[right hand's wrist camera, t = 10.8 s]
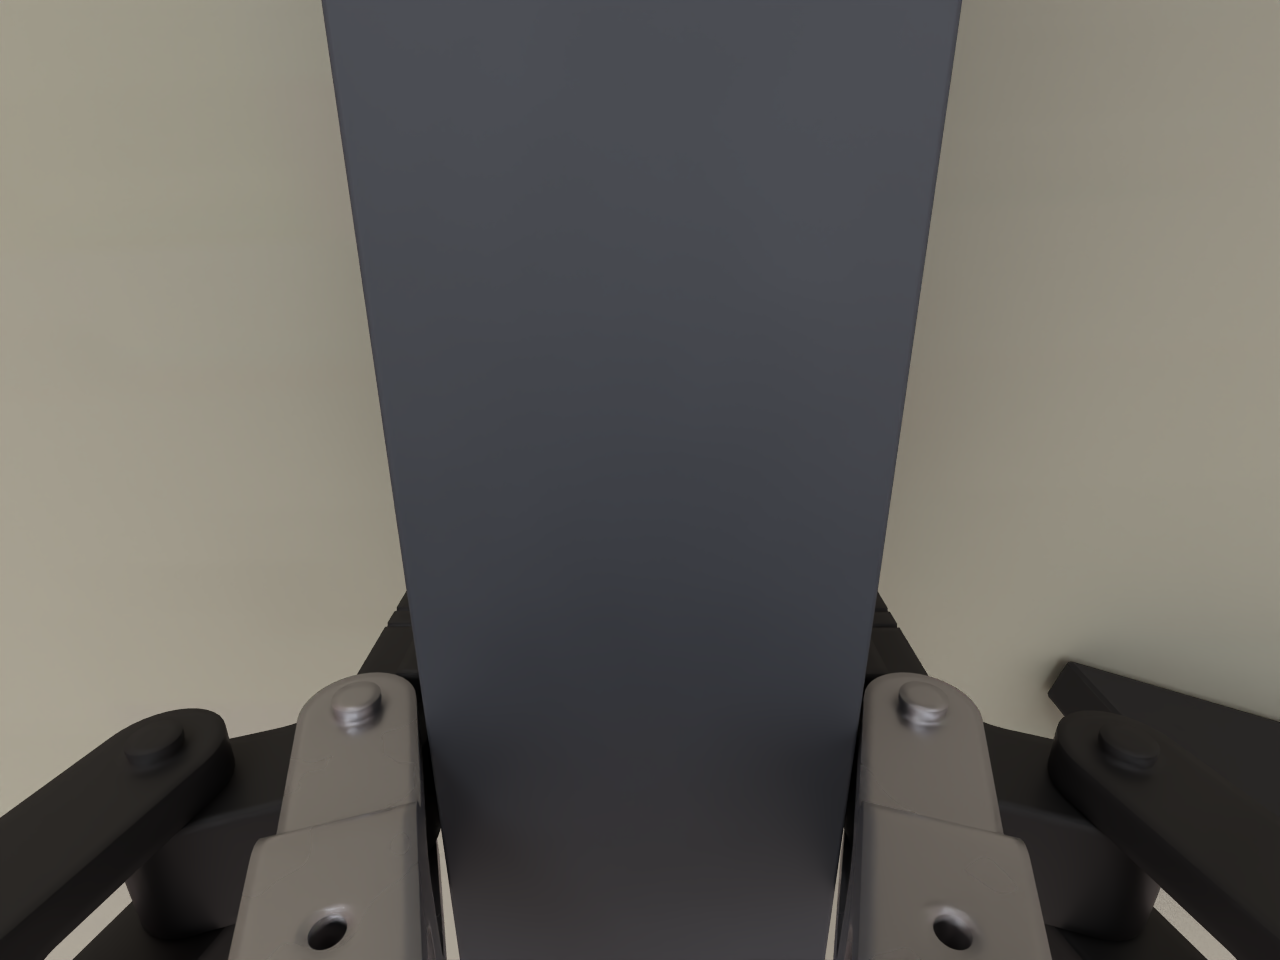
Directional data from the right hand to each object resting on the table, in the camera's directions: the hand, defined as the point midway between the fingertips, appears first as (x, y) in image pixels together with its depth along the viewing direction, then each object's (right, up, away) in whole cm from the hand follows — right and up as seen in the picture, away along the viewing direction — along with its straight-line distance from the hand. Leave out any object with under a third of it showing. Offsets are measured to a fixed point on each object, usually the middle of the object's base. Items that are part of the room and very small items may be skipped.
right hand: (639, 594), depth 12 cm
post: (0, +31, -10) cm, 33 cm away
